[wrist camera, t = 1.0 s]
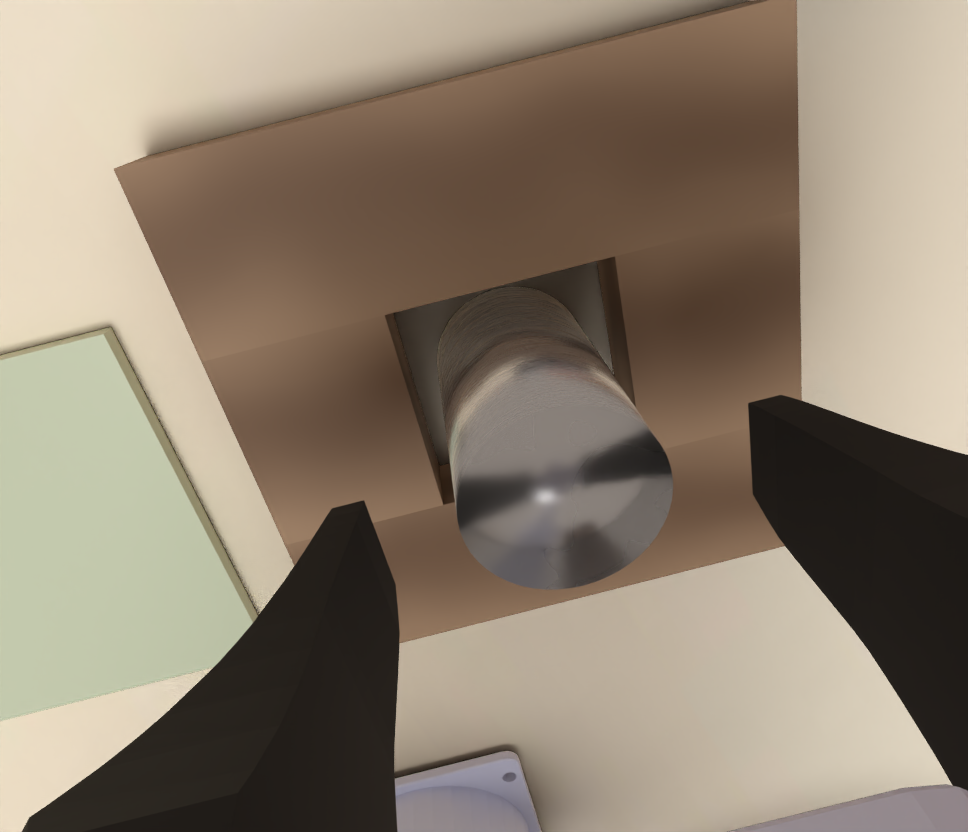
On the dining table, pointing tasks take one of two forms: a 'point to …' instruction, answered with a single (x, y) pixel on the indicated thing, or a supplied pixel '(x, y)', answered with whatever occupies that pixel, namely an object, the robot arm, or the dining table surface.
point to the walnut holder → (500, 279)
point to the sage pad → (100, 536)
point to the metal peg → (545, 445)
